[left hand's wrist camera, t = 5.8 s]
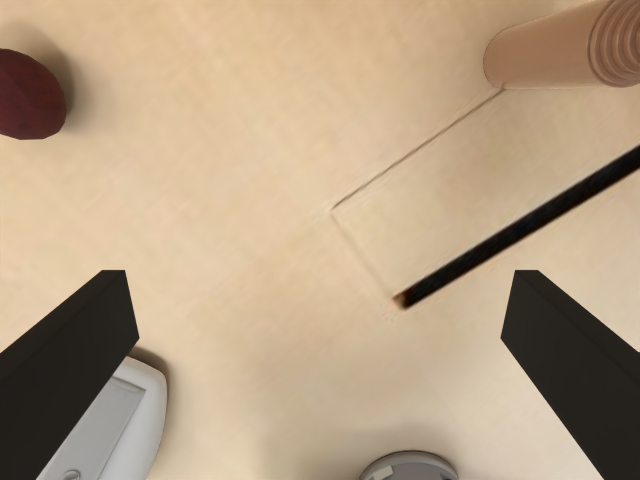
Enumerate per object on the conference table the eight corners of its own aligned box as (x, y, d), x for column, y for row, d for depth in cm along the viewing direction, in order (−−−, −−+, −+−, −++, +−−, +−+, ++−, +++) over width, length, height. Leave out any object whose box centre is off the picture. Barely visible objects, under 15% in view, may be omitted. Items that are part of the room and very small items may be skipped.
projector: (219, 456, 54) (185, 578, 41) (80, 489, 57) (5, 613, 43) (149, 336, 47) (78, 437, 33) (-8, 379, 49) (-133, 489, 36)
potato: (38, 36, 34) (-29, 22, 28) (100, 110, 37) (52, 113, 30) (-14, 84, 36) (-88, 82, 29) (49, 152, 38) (-7, 164, 32)
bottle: (513, 13, 34) (731, -76, 16) (552, 52, 35) (795, 11, 17) (471, 65, 35) (626, 37, 18) (509, 101, 37) (692, 109, 19)
